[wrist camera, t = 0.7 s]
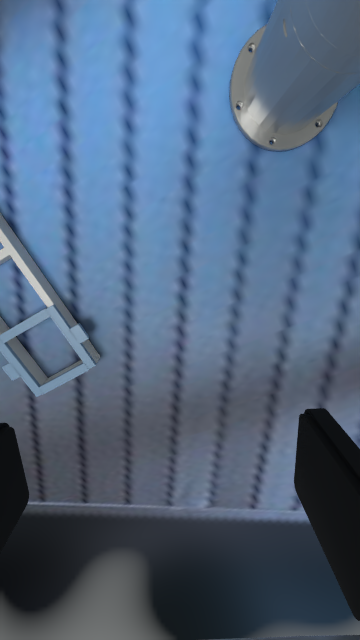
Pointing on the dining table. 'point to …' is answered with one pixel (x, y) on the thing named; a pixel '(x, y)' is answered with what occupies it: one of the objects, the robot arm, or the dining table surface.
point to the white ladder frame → (5, 338)
